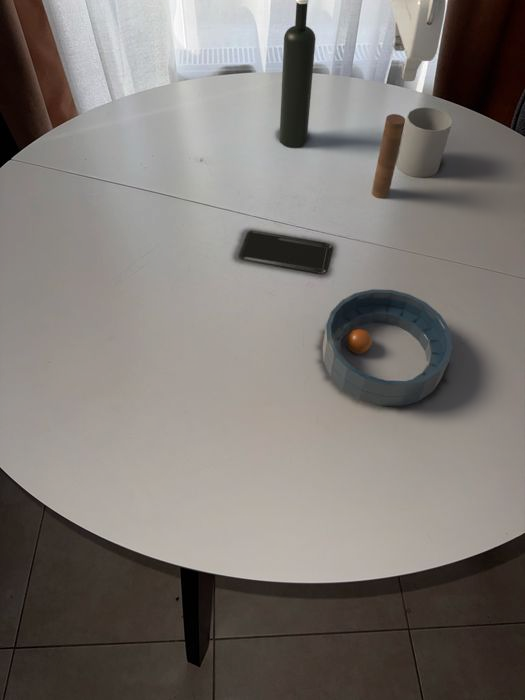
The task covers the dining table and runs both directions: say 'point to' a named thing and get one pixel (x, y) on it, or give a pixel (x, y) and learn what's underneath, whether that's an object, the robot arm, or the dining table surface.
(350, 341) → the bead
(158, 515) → the dining table surface
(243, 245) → the phone
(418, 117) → the cup
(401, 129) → the stirring stick
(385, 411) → the dining table surface
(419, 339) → the blue faceted ring
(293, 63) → the wine bottle
